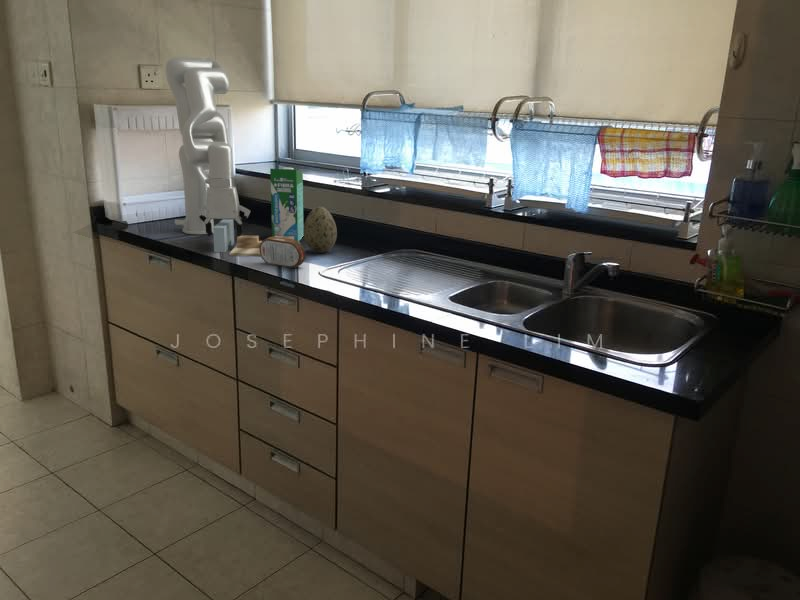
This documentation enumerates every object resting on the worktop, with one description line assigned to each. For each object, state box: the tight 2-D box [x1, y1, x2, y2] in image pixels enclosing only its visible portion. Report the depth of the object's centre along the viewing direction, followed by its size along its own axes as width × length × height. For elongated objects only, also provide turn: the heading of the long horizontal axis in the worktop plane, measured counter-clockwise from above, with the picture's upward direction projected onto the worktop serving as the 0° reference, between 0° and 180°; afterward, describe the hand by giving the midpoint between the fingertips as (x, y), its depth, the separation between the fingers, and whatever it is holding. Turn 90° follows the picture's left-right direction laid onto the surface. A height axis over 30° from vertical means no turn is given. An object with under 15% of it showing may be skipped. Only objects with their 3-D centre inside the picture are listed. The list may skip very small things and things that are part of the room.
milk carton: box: [269, 166, 304, 242], centre depth 237 cm, size 9×9×25 cm
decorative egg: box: [303, 205, 338, 254], centre depth 221 cm, size 11×11×15 cm
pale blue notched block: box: [212, 219, 235, 253], centre depth 225 cm, size 14×4×8 cm, turn 1°
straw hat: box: [229, 234, 301, 257], centre depth 224 cm, size 20×18×4 cm
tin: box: [259, 236, 306, 269], centre depth 205 cm, size 15×3×8 cm, turn 65°
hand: (224, 235), depth 224 cm, fingers open, 9 cm apart
